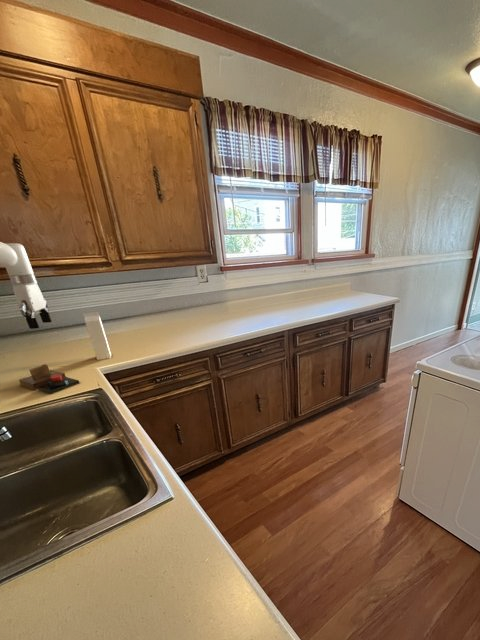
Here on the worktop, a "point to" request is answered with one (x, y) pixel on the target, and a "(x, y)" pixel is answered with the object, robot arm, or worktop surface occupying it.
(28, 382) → the lock plate
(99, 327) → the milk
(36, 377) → the brown rectangular block
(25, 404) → the worktop surface
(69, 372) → the worktop surface
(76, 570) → the worktop surface
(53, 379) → the button
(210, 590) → the worktop surface
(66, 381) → the button block
